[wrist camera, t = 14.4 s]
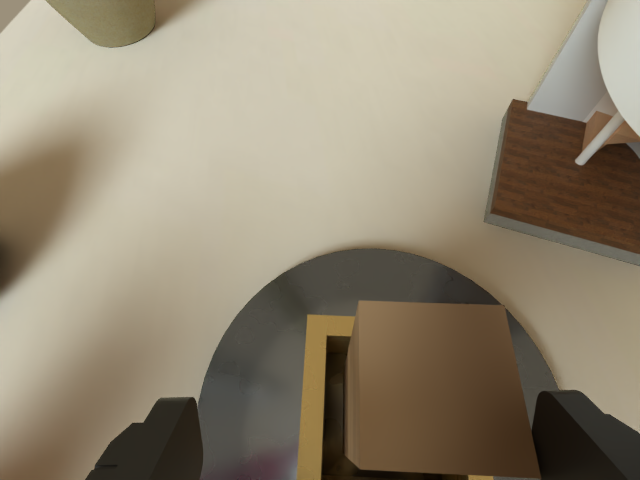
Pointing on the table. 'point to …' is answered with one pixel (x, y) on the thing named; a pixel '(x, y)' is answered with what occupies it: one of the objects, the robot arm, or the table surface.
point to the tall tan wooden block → (435, 392)
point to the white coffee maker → (578, 141)
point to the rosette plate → (321, 366)
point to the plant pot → (109, 19)
